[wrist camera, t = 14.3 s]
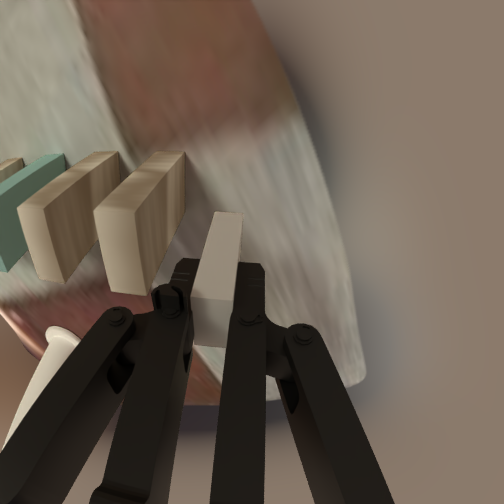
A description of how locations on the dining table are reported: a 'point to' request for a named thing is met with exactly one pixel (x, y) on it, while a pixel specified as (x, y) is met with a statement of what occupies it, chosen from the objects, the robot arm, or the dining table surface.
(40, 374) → the white post
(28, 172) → the tile
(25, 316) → the dining table surface
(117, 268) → the tile
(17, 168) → the tile
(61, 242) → the tile
